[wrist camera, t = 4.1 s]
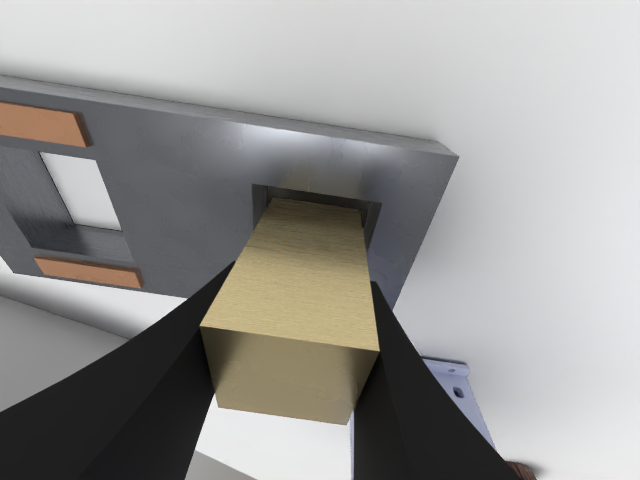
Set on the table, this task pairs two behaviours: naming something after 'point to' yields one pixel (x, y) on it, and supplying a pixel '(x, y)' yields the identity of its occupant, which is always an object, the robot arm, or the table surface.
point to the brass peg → (295, 316)
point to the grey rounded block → (44, 349)
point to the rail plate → (195, 186)
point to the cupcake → (522, 471)
